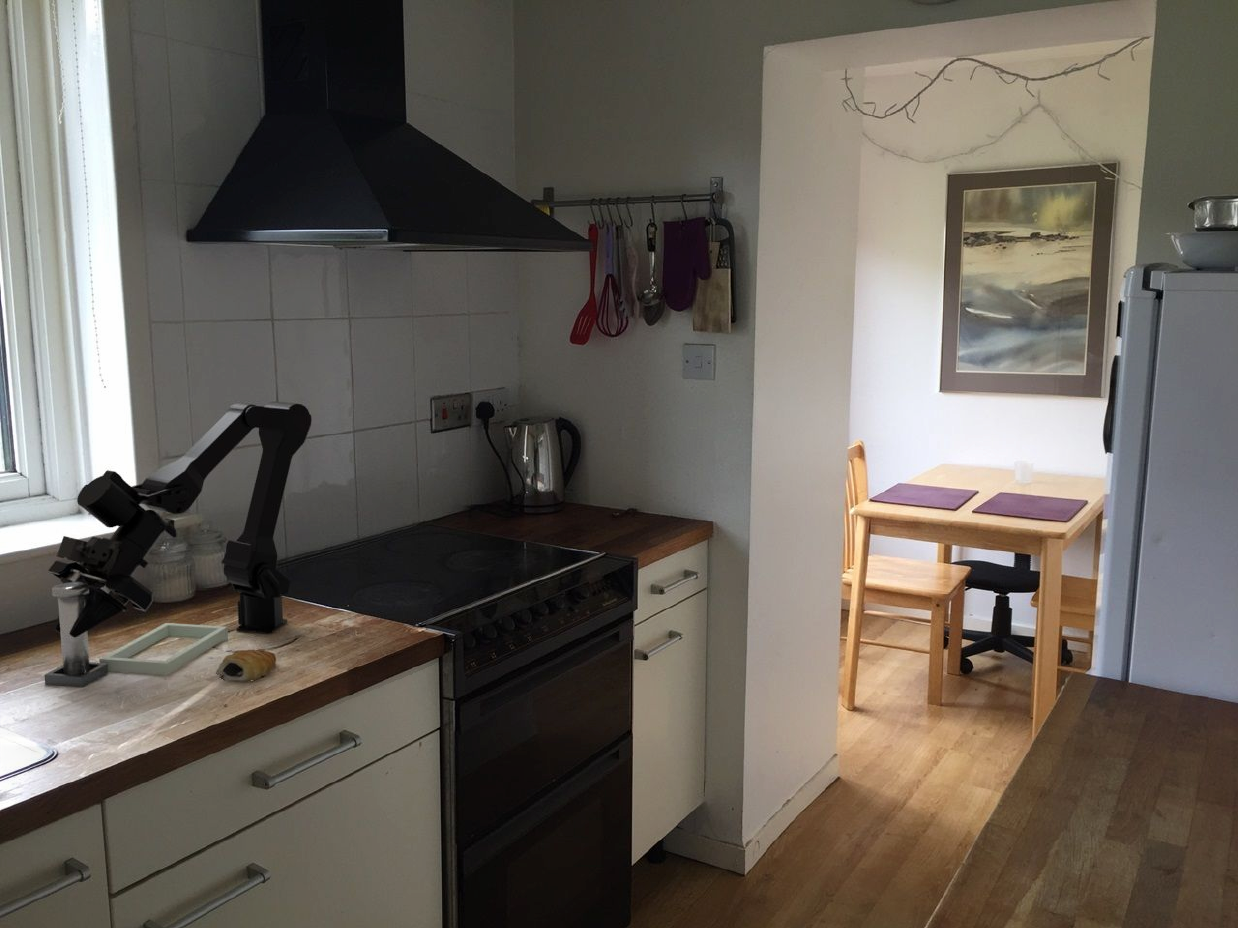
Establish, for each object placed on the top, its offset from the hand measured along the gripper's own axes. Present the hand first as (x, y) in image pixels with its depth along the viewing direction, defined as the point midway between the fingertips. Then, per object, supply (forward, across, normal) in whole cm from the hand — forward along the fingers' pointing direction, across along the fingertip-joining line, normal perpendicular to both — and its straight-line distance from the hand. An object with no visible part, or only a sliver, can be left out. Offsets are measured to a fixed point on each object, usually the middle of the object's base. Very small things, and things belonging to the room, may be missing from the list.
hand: (64, 633), depth 159 cm
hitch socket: (+5, 0, +7) cm, 8 cm away
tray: (-6, 0, +17) cm, 18 cm away
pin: (+4, 0, +6) cm, 7 cm away
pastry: (-7, +16, +19) cm, 26 cm away
